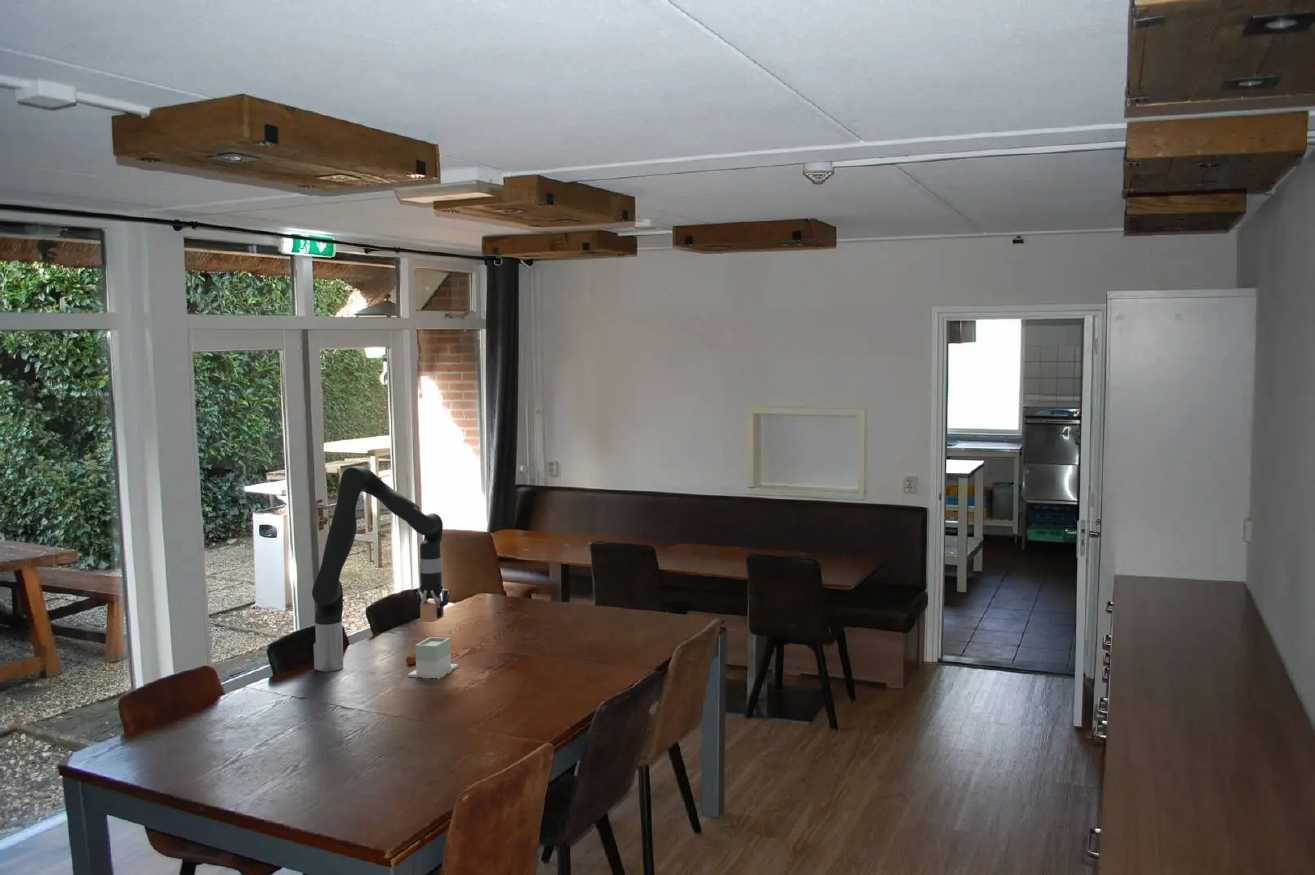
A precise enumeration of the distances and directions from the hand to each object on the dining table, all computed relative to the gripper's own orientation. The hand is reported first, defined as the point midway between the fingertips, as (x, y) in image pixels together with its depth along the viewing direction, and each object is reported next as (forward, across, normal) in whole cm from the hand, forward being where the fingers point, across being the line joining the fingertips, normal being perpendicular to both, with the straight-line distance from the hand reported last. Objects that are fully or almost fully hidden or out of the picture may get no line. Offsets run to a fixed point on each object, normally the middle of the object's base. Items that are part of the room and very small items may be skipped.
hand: (432, 617), depth 375 cm
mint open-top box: (+20, 0, 0) cm, 20 cm away
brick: (+1, 0, 0) cm, 1 cm away
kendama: (+20, +11, -16) cm, 28 cm away
